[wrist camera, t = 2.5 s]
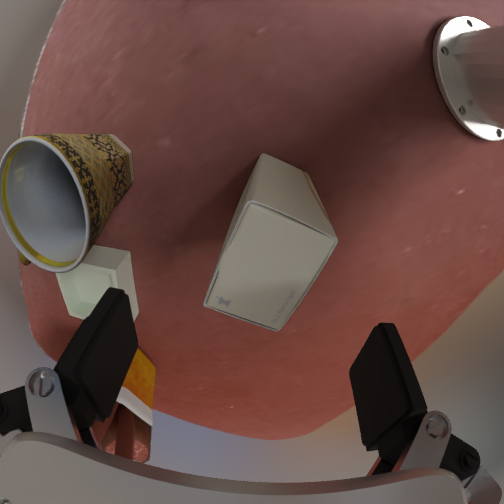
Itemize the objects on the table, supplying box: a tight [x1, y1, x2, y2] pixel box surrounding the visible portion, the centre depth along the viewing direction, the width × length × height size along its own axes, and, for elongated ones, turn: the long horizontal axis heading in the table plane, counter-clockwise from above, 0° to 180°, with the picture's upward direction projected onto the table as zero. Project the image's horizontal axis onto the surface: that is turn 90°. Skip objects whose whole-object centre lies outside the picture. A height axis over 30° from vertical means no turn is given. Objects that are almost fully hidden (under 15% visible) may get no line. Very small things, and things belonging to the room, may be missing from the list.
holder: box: [56, 245, 139, 321], centre depth 28 cm, size 9×9×4 cm
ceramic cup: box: [0, 133, 134, 273], centre depth 19 cm, size 13×10×10 cm
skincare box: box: [203, 153, 338, 331], centre depth 18 cm, size 6×4×12 cm
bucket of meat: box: [92, 347, 156, 463], centre depth 28 cm, size 20×16×20 cm
